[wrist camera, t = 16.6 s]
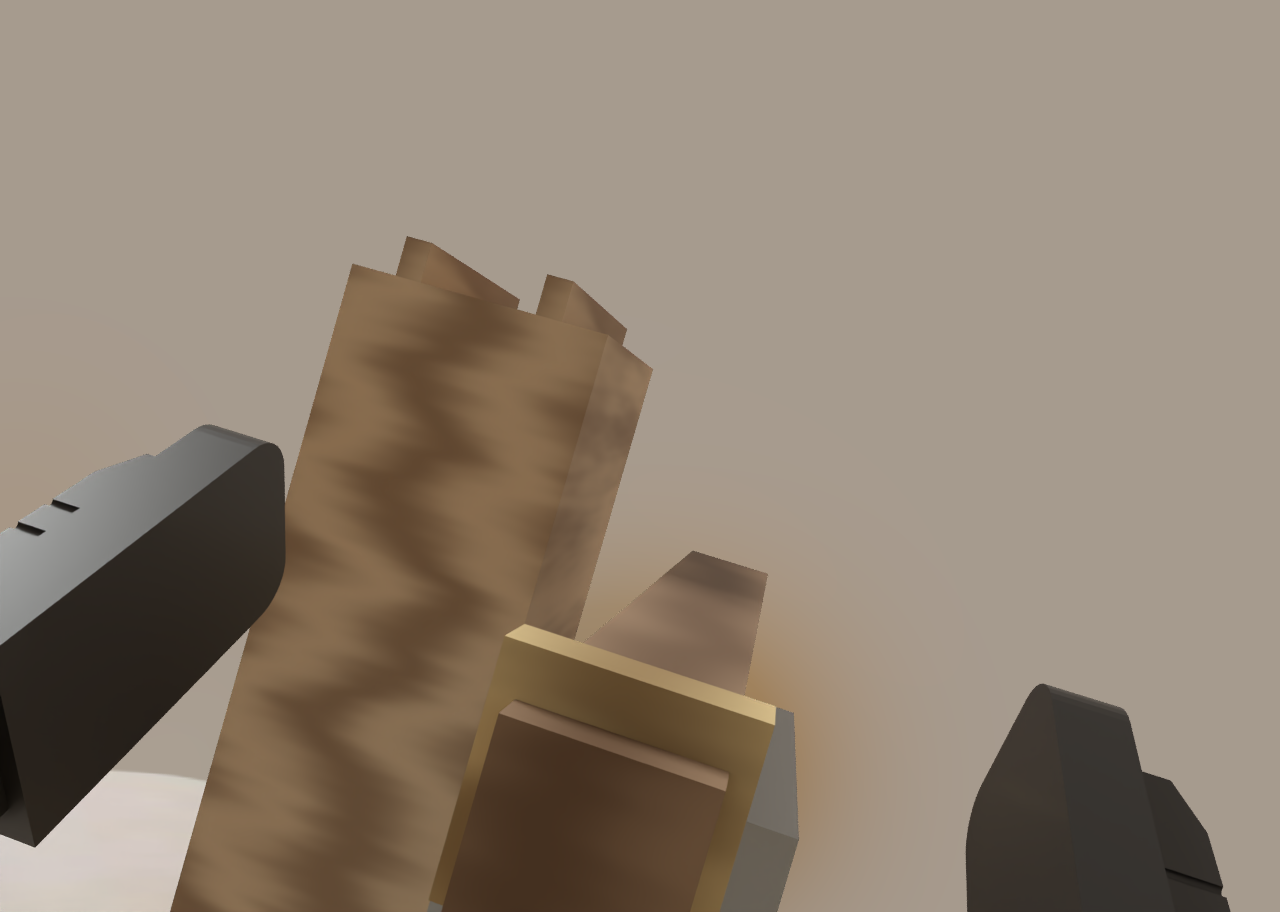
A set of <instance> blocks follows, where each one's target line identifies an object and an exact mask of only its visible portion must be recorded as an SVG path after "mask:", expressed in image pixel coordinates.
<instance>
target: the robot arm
mask: <svg viewBox="0 0 1280 912" xmlns="http://www.w3.org/2000/svg"><path fill="white" fill-rule="evenodd" d="M285 560H286V544H285V482H284V459H283V455H282V453H281V450H280V449H279V448H278V446H276V445H275V444H272V443H269V442H266V441H263V440H260V439H256V438H253V437H250V436H246V435H243V434H240V433H237V432H234V431H230V430H227V429H224V428H221V427H218V426H214V425H203V426H200V427H198V428H197V429H195V430H193V431H192V432H190V433H189V434H187V435H186V436H184V437H183V438H181V439H180V440H179V441H177V442H176V443H174V444H173V445H171V446H170V447H168V448H167V449H165V450H164V451H162V452H161V453H160V454H158V455H157V456H152V455H149V454H146V455H143V456H140V457H137V458H134V459H131V460H128V461H125V462H122V463H119V464H116V465H113V466H110V467H107V468H104V469H101V470H98V471H95V472H93V473H92V474H90V475H89V476H87V477H85V478H84V479H82V480H81V481H79V482H78V483H76V484H75V485H73V486H72V487H70V488H69V489H67V490H66V491H64V492H62V493H61V494H59V495H58V496H56V497H55V498H53V501H52V504H51V505H50V506H47V505H45V504H44V505H43V506H41V507H40V508H38V509H37V510H35V511H33V512H32V513H31V514H29V515H28V516H26V517H24V518H23V519H21V520H20V521H18V525H17V527H16V528H15V529H13V528H10V527H9V528H7V529H6V530H4V531H3V532H1V533H0V834H1V835H4V836H6V837H9V838H12V839H14V840H17V841H19V842H22V843H25V844H27V845H30V846H32V847H36V846H37V845H38V844H39V843H40V842H41V841H42V840H43V839H44V838H45V837H46V836H47V835H48V834H49V833H50V832H51V831H52V830H53V829H54V828H55V827H56V826H57V825H58V824H59V823H60V821H61V820H62V819H63V818H64V817H65V816H66V815H67V814H68V813H69V812H70V811H71V810H72V809H73V808H74V807H75V806H76V805H77V804H78V803H79V802H80V801H81V800H82V799H83V798H84V797H85V796H86V795H87V794H88V793H89V792H90V791H91V790H92V789H93V788H94V787H95V786H96V785H97V784H98V783H99V782H100V780H101V779H102V778H103V777H104V776H105V775H106V774H107V773H108V772H109V771H110V770H111V769H112V768H113V767H114V766H115V765H116V764H117V763H118V762H119V761H120V760H121V759H122V758H123V757H124V756H125V755H126V754H127V753H128V752H129V751H130V750H131V749H132V748H133V747H134V746H135V745H136V744H137V743H138V742H139V740H140V739H141V738H142V737H143V736H144V735H145V734H146V733H147V732H148V731H149V730H150V729H151V728H152V727H153V726H154V725H155V724H156V723H157V722H158V721H159V720H160V719H161V718H162V717H163V716H164V715H165V714H166V713H167V712H168V711H169V710H170V709H171V707H172V706H174V705H175V704H176V703H177V702H178V700H179V699H180V698H181V697H182V696H183V695H184V694H185V693H186V692H187V691H188V690H189V689H190V688H191V687H192V686H193V685H194V684H195V683H196V682H197V681H198V680H199V679H200V678H201V677H202V676H203V675H204V674H205V673H206V672H207V671H208V670H209V669H210V668H211V667H212V666H213V665H214V664H215V663H216V662H217V660H218V659H219V658H220V657H221V656H222V655H223V654H224V653H225V652H226V651H227V650H228V649H229V648H230V647H231V646H232V645H233V644H234V643H235V642H236V641H237V640H238V639H239V638H240V637H241V636H242V635H243V634H244V633H245V632H246V631H247V630H248V629H249V628H250V627H251V626H252V625H253V624H254V623H255V622H256V621H257V620H258V618H259V617H260V616H261V615H262V614H263V613H264V612H265V611H266V609H267V608H268V607H269V605H270V604H271V602H272V600H273V599H274V597H275V595H276V593H277V590H278V588H279V586H280V583H281V580H282V577H283V573H284V568H285ZM966 875H967V876H966V878H967V879H966V880H967V912H1230V909H1229V905H1228V902H1227V898H1225V897H1223V896H1222V895H1221V891H1222V888H1223V884H1222V881H1221V878H1220V874H1219V871H1218V867H1217V864H1216V861H1215V857H1214V854H1213V851H1212V847H1211V844H1210V840H1209V837H1208V834H1207V832H1206V830H1205V829H1204V828H1203V826H1202V825H1201V823H1200V822H1199V820H1198V819H1197V818H1196V816H1195V815H1194V814H1193V812H1192V810H1191V809H1190V808H1189V806H1188V805H1187V803H1186V802H1185V801H1184V799H1183V798H1182V796H1181V795H1180V793H1179V792H1178V790H1177V789H1176V787H1175V786H1174V785H1173V783H1172V782H1171V781H1170V780H1167V779H1164V778H1161V777H1157V776H1154V775H1151V774H1148V773H1145V772H1142V770H1141V766H1140V762H1139V757H1138V753H1137V749H1136V745H1135V740H1134V736H1133V732H1132V728H1131V724H1130V721H1129V717H1128V715H1127V713H1126V712H1125V711H1124V710H1123V709H1122V708H1120V707H1117V706H1114V705H1110V704H1107V703H1104V702H1101V701H1098V700H1094V699H1091V698H1088V697H1085V696H1081V695H1078V694H1075V693H1071V692H1068V691H1065V690H1062V689H1059V688H1056V687H1052V686H1049V685H1046V684H1039V685H1038V686H1036V687H1035V688H1034V689H1033V690H1032V692H1031V693H1030V694H1029V696H1028V698H1027V699H1026V701H1025V704H1024V705H1023V707H1022V709H1021V711H1020V713H1019V715H1018V717H1017V719H1016V720H1015V722H1014V724H1013V726H1012V728H1011V730H1010V732H1009V734H1008V736H1007V738H1006V740H1005V741H1004V743H1003V745H1002V747H1001V749H1000V751H999V753H998V755H997V757H996V758H995V761H994V763H993V764H992V766H991V768H990V770H989V772H988V774H987V776H986V778H985V779H984V782H983V783H982V785H981V787H980V789H979V792H978V794H977V797H976V800H975V802H974V806H973V809H972V813H971V817H970V821H969V826H968V833H967V840H966Z"/></svg>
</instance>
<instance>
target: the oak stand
mask: <svg viewBox="0 0 1280 912" xmlns="http://www.w3.org/2000/svg"><path fill="white" fill-rule="evenodd" d="M518 304H519V299H518V298H516V297H515V296H513V295H512V294H510V293H508V292H507V291H506V290H504V289H502V288H501V287H499V286H498V285H496V284H495V283H493V282H491V281H490V280H489V279H487V278H485V277H484V276H482V275H481V274H479V273H478V272H476V271H475V270H473V269H471V268H470V267H468V266H467V265H465V264H464V263H462V262H461V261H459V260H457V259H456V258H454V257H453V256H451V255H449V254H448V253H447V252H445V251H444V250H442V249H440V248H439V247H437V246H436V245H434V244H433V243H430V242H426V241H423V240H418V239H415V238H412V237H408V236H407V238H406V241H405V245H404V248H403V252H402V255H401V259H400V263H399V266H398V270H397V274H396V276H395V275H391V274H388V273H384V272H381V271H377V270H373V269H370V268H366V267H362V266H359V265H355V264H352V268H351V271H350V274H349V278H348V282H347V285H346V289H345V292H344V296H343V299H342V303H341V306H340V310H339V314H338V317H337V321H336V324H335V328H334V331H333V335H332V338H331V342H330V346H329V349H328V353H327V356H326V360H325V364H324V367H323V370H322V374H321V377H320V381H319V385H318V388H317V392H316V395H315V399H314V402H313V406H312V409H311V413H310V417H309V420H308V424H307V428H306V431H305V434H304V438H303V442H302V445H301V449H300V452H299V456H298V460H297V463H296V466H295V470H294V474H293V477H292V481H291V484H290V488H289V491H288V495H287V499H286V502H285V544H286V560H285V568H284V573H283V577H282V580H281V583H280V586H279V588H278V590H277V593H276V595H275V597H274V599H273V600H272V602H271V604H270V605H269V607H268V608H267V609H266V611H265V612H264V613H263V614H262V615H261V616H260V617H259V618H258V620H257V621H256V622H255V623H254V624H253V625H252V626H251V627H250V630H249V633H248V637H247V641H246V644H245V648H244V651H243V655H242V659H241V662H240V665H239V669H238V673H237V676H236V680H235V683H234V687H233V690H232V694H231V698H230V701H229V704H228V708H227V712H226V715H225V719H224V722H223V726H222V729H221V733H220V736H219V740H218V744H217V747H216V751H215V754H214V758H213V762H212V765H211V768H210V772H209V776H208V779H207V783H206V786H205V790H204V793H203V797H202V800H201V804H200V807H199V811H198V815H197V818H196V822H195V825H194V829H193V832H192V836H191V839H190V843H189V847H188V850H187V854H186V857H185V861H184V864H183V868H182V871H181V875H180V879H179V882H178V886H177V889H176V893H175V896H174V900H173V903H172V907H171V911H170V912H427V910H428V906H429V903H430V901H429V900H428V899H429V896H430V892H431V889H432V885H433V882H434V878H435V875H436V871H437V868H438V864H439V861H440V857H441V854H442V851H443V847H444V844H445V840H446V837H447V833H448V830H449V826H450V823H451V819H452V816H453V812H454V809H455V806H456V802H457V799H458V795H459V792H460V788H461V785H462V781H463V778H464V774H465V771H466V767H467V764H468V761H469V757H470V754H471V750H472V747H473V743H474V740H475V736H476V733H477V729H478V726H479V722H480V719H481V716H482V712H483V709H484V705H485V702H486V698H487V695H488V691H489V688H490V684H491V681H492V677H493V674H494V671H495V667H496V664H497V660H498V657H499V653H500V650H501V646H502V643H503V639H504V636H505V635H507V634H508V633H510V632H512V631H513V630H515V629H517V628H519V627H520V626H522V625H524V624H527V625H530V626H533V627H536V628H539V629H542V630H545V631H548V632H551V633H554V634H557V635H560V636H563V637H566V638H569V639H572V640H574V639H575V636H576V632H577V628H578V625H579V622H580V618H581V615H582V611H583V608H584V605H585V601H586V598H587V594H588V591H589V587H590V584H591V580H592V577H593V574H594V570H595V567H596V563H597V560H598V556H599V553H600V550H601V546H602V543H603V539H604V536H605V532H606V529H607V526H608V522H609V519H610V515H611V512H612V508H613V505H614V501H615V498H616V495H617V491H618V488H619V484H620V481H621V477H622V474H623V471H624V467H625V464H626V460H627V457H628V453H629V450H630V446H631V443H632V440H633V436H634V433H635V429H636V426H637V422H638V419H639V416H640V412H641V409H642V405H643V402H644V398H645V395H646V391H647V388H648V384H649V381H650V378H651V374H652V371H653V369H652V368H651V367H649V366H648V365H647V364H645V363H644V362H643V361H641V360H640V359H639V358H637V357H636V356H635V355H634V354H632V353H631V352H630V351H629V350H627V349H626V348H625V347H623V346H622V344H623V341H624V338H625V334H626V331H627V329H626V328H625V327H624V326H623V325H622V324H620V323H619V322H618V321H617V320H616V319H615V318H614V317H613V316H612V315H610V314H609V313H608V312H607V311H606V310H605V309H604V308H603V307H601V306H600V305H599V304H598V303H597V302H596V301H595V300H594V299H592V298H591V297H590V296H589V295H588V294H587V293H586V292H585V291H584V290H582V289H581V288H580V287H579V286H578V285H577V284H576V283H575V282H573V281H570V280H566V279H562V278H558V277H555V276H552V275H547V277H546V281H545V284H544V288H543V291H542V295H541V298H540V302H539V305H538V309H537V312H536V315H535V314H531V313H528V312H524V311H521V310H517V308H518Z"/></svg>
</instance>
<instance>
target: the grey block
mask: <svg viewBox="0 0 1280 912" xmlns="http://www.w3.org/2000/svg"><path fill="white" fill-rule="evenodd" d="M796 785H797V784H796V758H795V732H794V713H792V712H789V711H786V710H783V709H780V708H777V707H776V716H775V727H774V730H773V734H772V737H771V740H770V744H769V747H768V751H767V754H766V757H765V761H764V764H763V767H762V771H761V774H760V777H759V781H758V784H757V788H756V791H755V794H754V798H753V801H752V804H751V808H750V811H749V814H748V818H747V821H746V824H745V828H744V831H743V835H742V838H741V841H740V845H739V848H738V851H737V855H736V858H735V861H734V865H733V868H732V872H731V875H730V878H729V882H728V885H727V888H726V892H725V895H724V898H723V902H722V905H721V909H720V912H777V911H778V907H779V904H780V900H781V897H782V894H783V890H784V887H785V884H786V880H787V877H788V874H789V870H790V867H791V864H792V861H793V857H794V854H795V850H796V847H797V844H798V841H799V834H798V808H797V786H796ZM442 907H443V906H442V905H440V904H437V903H434V902H432V901H430V903H429V906H428V910H427V912H441V911H442Z"/></svg>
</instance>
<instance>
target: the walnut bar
mask: <svg viewBox="0 0 1280 912" xmlns="http://www.w3.org/2000/svg"><path fill="white" fill-rule="evenodd" d="M767 576H768V574H767V573H763V572H760V571H757V570H754V569H750V568H747V567H744V566H741V565H737V564H734V563H731V562H728V561H724V560H721V559H718V558H715V557H711V556H708V555H705V554H701V553H699V552H695V551H692V552H691V553H690V554H688V555H687V556H686V557H685V558H683V559H682V560H681V561H680V562H679V563H677V564H676V565H675V566H674V567H673V568H672V569H670V570H669V571H668V572H667V573H666V574H664V575H663V576H662V577H661V578H660V579H658V580H657V581H656V582H655V583H654V584H652V585H651V586H650V587H649V588H648V589H646V590H645V591H644V592H643V593H642V594H640V595H639V596H638V597H637V598H636V599H634V600H633V601H632V602H631V603H630V604H628V605H627V606H626V607H625V608H624V609H623V610H621V611H620V612H619V613H618V614H617V615H615V616H614V617H613V618H612V619H611V620H609V621H608V622H607V623H606V624H605V625H603V626H602V627H601V628H600V629H599V630H597V631H596V632H595V633H594V634H593V635H591V636H590V637H589V638H588V639H587V640H586V641H584V642H583V643H581V642H578V641H575V640H572V639H569V638H566V637H563V636H560V635H557V634H554V633H551V632H548V631H545V630H542V629H539V628H536V627H533V626H530V625H527V624H524V625H522V626H520V627H519V628H517V629H515V630H513V631H512V632H510V633H508V634H507V635H505V636H504V639H503V643H502V646H501V650H500V653H499V657H498V660H497V664H496V667H495V671H494V674H493V677H492V681H491V684H490V688H489V691H488V695H487V698H486V702H485V705H484V709H483V712H482V716H481V719H480V722H479V726H478V729H477V733H476V736H475V740H474V743H473V747H472V750H471V754H470V757H469V761H468V764H467V767H466V771H465V774H464V778H463V781H462V785H461V788H460V792H459V795H458V799H457V802H456V806H455V809H454V812H453V816H452V819H451V823H450V826H449V830H448V833H447V837H446V840H445V844H444V847H443V851H442V854H441V857H440V861H439V864H438V868H437V871H436V875H435V878H434V882H433V885H432V889H431V892H430V896H429V899H428V900H429V901H432V902H434V903H437V904H440V905H442V906H443V907H442V911H441V912H720V909H721V905H722V902H723V898H724V895H725V892H726V888H727V885H728V882H729V878H730V875H731V872H732V868H733V865H734V861H735V858H736V855H737V851H738V848H739V845H740V841H741V838H742V835H743V831H744V828H745V824H746V821H747V818H748V814H749V811H750V808H751V804H752V801H753V798H754V794H755V791H756V788H757V784H758V781H759V777H760V774H761V771H762V767H763V764H764V761H765V757H766V754H767V751H768V747H769V744H770V740H771V737H772V734H773V730H774V727H775V716H776V706H773V705H770V704H767V703H764V702H761V701H758V700H755V699H752V698H749V697H746V696H744V695H745V689H746V684H747V679H748V674H749V669H750V664H751V658H752V653H753V648H754V643H755V638H756V633H757V628H758V622H759V617H760V612H761V607H762V602H763V596H764V591H765V586H766V581H767Z"/></svg>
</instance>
